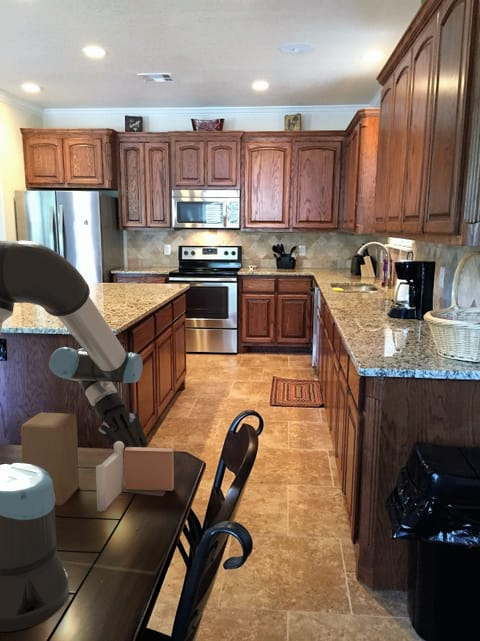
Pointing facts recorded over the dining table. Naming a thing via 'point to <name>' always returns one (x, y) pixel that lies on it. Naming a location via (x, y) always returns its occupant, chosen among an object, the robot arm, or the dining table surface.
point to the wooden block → (53, 450)
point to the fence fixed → (110, 477)
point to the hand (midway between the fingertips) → (149, 474)
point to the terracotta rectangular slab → (149, 468)
